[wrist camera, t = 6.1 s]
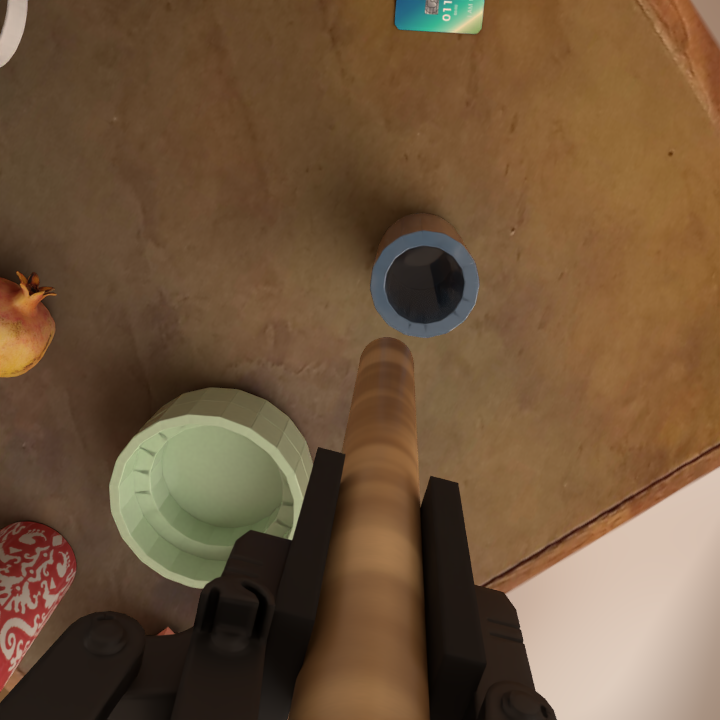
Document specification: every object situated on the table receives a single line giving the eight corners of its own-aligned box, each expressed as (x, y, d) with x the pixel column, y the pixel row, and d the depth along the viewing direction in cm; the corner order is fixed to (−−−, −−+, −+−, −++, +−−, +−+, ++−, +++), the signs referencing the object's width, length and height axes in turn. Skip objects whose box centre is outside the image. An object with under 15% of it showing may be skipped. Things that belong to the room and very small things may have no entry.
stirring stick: (355, 338, 31) (211, 918, 8) (405, 325, 31) (413, 892, 7) (369, 385, 32) (275, 1050, 8) (418, 373, 31) (463, 1030, 8)
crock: (368, 225, 45) (358, 246, 36) (453, 203, 45) (465, 218, 35) (389, 306, 47) (385, 348, 37) (471, 286, 46) (488, 323, 37)
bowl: (116, 406, 51) (80, 439, 45) (285, 365, 49) (269, 395, 43) (176, 556, 54) (149, 604, 49) (335, 524, 52) (326, 570, 47)
